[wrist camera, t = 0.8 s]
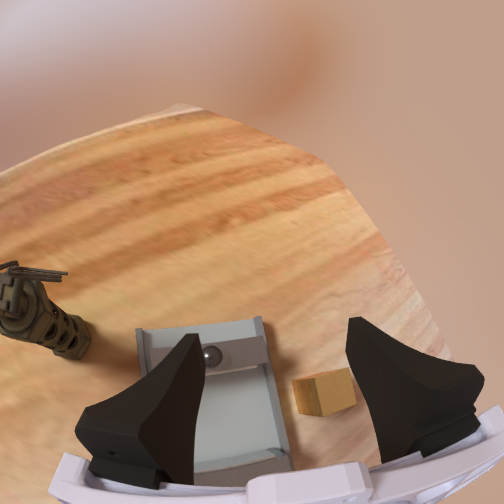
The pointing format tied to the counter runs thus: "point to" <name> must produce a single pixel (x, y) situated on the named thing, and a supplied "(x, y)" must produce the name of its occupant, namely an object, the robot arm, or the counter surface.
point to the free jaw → (224, 355)
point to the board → (228, 395)
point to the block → (324, 392)
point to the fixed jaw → (240, 468)
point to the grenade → (38, 312)
